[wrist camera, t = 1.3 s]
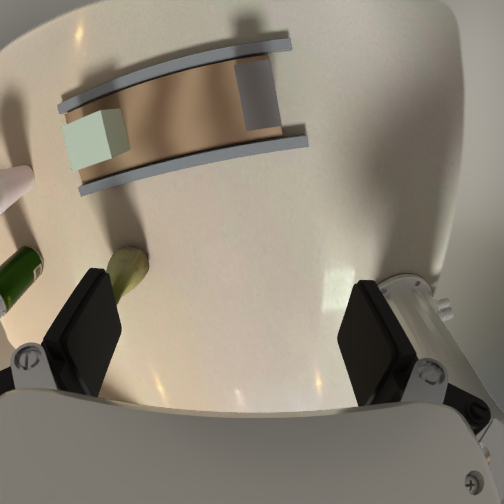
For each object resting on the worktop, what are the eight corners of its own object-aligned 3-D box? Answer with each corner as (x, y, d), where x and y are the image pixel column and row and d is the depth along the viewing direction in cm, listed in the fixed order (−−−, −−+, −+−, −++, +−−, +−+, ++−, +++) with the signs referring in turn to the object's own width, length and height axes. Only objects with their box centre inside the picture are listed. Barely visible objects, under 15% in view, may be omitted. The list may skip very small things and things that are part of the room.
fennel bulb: (121, 278, 38) (86, 336, 28) (107, 246, 36) (64, 300, 26) (158, 271, 38) (130, 332, 27) (145, 237, 36) (108, 292, 25)
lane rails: (288, 40, 25) (290, 38, 24) (306, 145, 31) (308, 146, 30) (62, 104, 27) (57, 105, 26) (85, 193, 33) (81, 196, 32)
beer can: (43, 248, 36) (-3, 293, 26) (47, 278, 39) (6, 326, 28) (19, 240, 36) (-28, 281, 25) (22, 269, 38) (-19, 313, 27)
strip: (267, 55, 26) (272, 42, 20) (282, 135, 30) (290, 141, 24) (67, 114, 28) (35, 119, 22) (84, 181, 32) (56, 198, 26)
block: (120, 108, 28) (100, 110, 23) (130, 149, 30) (112, 158, 26) (84, 122, 28) (61, 127, 24) (94, 161, 30) (72, 172, 26)
